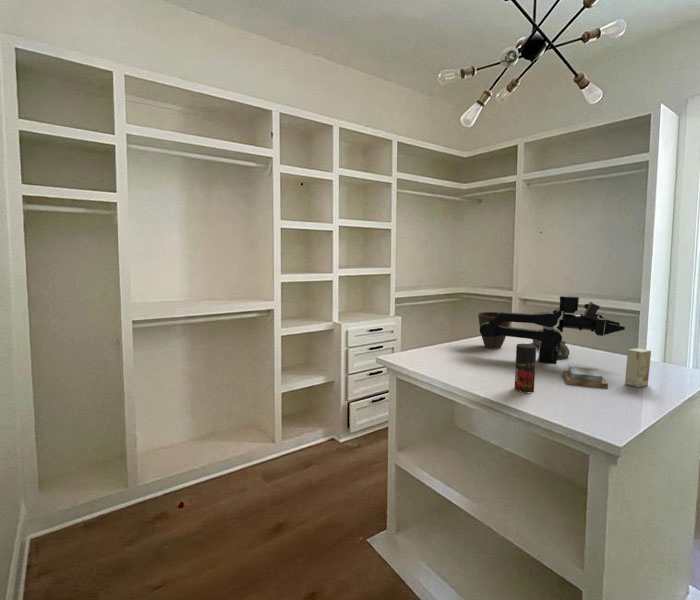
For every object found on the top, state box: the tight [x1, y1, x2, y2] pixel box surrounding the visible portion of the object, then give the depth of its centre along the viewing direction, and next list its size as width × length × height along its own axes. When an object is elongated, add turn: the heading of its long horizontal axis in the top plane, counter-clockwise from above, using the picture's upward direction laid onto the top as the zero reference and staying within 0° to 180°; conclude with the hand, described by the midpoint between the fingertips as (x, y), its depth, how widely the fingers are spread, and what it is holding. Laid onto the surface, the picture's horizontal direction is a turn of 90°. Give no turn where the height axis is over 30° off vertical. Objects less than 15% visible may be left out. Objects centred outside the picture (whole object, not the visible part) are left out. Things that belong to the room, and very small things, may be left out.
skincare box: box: [624, 347, 652, 388], centre depth 135 cm, size 6×4×12 cm
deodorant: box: [514, 343, 537, 393], centre depth 130 cm, size 6×6×15 cm
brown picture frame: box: [562, 366, 609, 389], centre depth 140 cm, size 12×12×4 cm
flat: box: [532, 339, 570, 360], centre depth 184 cm, size 11×33×8 cm, turn 168°
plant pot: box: [477, 311, 511, 350], centre depth 190 cm, size 15×15×16 cm
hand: (622, 326), depth 154 cm, fingers open, 9 cm apart
